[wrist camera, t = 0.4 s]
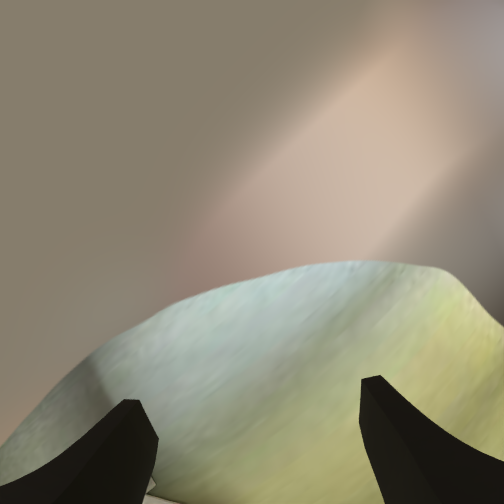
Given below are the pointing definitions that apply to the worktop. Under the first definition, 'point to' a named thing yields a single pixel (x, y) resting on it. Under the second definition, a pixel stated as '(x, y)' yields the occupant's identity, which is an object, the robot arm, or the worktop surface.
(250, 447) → the worktop surface
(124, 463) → the robot arm
